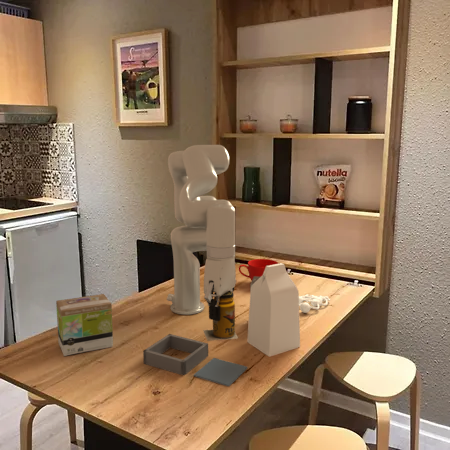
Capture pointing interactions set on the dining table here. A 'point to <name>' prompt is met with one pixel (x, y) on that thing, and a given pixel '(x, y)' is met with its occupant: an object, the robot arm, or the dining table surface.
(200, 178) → the robot arm
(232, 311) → the condiment
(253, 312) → the milk
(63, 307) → the tea box
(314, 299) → the tangled rod sculpture
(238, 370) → the slate mat
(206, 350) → the bin
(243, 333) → the dining table surface
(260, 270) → the ceramic cup
